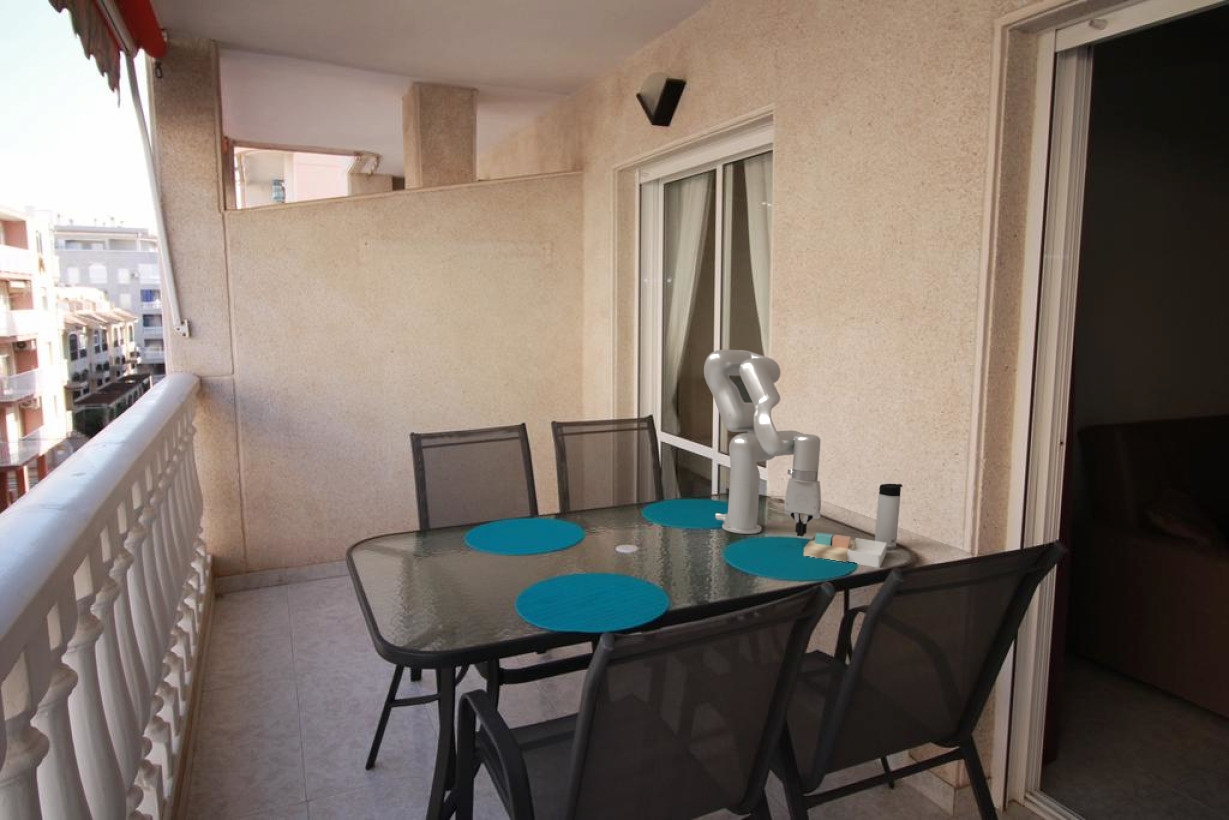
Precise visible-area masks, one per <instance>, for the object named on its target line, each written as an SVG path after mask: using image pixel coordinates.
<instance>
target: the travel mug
mask: <svg viewBox="0 0 1229 820" xmlns="http://www.w3.org/2000/svg"><path fill="white" fill-rule="evenodd" d="M901 488H903V484H901V483H883V484H880V486H879V489H878V490H879V491H878V501H877V509H876V522H875V523H876V524H875V533H874V534H875V535H874V541H879V542H886V543H887V549H886V551H893V549H894V550H896V547H897V540H898V539H897V537H898V529H899V528H898V526H899V517H900V516H899V515H900V506H901V505H900V504H901Z"/></svg>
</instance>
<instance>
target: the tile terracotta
mask: <svg viewBox="0 0 1229 820" xmlns="http://www.w3.org/2000/svg"><path fill="white" fill-rule="evenodd" d="M851 538H852V537H851V536H849V535H843V534H842V535H841V534H834V535H833V539H832V546H835V547H841V548H847V549H848V547H849V546H850V540H852V539H851Z"/></svg>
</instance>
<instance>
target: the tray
mask: <svg viewBox="0 0 1229 820" xmlns="http://www.w3.org/2000/svg"><path fill="white" fill-rule="evenodd" d="M854 540H855V548H854V550H853V551H852V550H848V551H847V561H849V562H855V563H857V564H856V565H861V566H866V567H872V568H879V569H880V568H881V566H882V564H883V561H884V559H885V557H886V555H887V550H886V549H887V543H886V542H879V541H875V540H872V539H865V538H858V537H855V538H854Z"/></svg>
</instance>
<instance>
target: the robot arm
mask: <svg viewBox="0 0 1229 820" xmlns="http://www.w3.org/2000/svg"><path fill="white" fill-rule="evenodd" d="M703 375H704V379H705V380H704V381H705V382H706V384H707V386H708V388H709V390H710V392H711V394H712V397H713V399H714V402H715V404H716V407H717V409H718V413H719V415H720V418H721V422H722V423H723V425H724V427H725V428H726V429H727V431H728V432H729V431H730V432H732V433H735V432H736V433H738V432H739V434H736V435H735V436H734V437H732V438H731V440H730V441H729V446H728V452H729V461H730V463H729V464H730V473H729V474H730V475H729V491H728V505H727V508H728V509H727V512H726V513H724V514H723V513H718V512H716V513H715V516H714V517H715V519H716V521H723V522H722V526H721V527H722V529H723V530H725V531H727V532H731V533H734V534H743V535H751V534H752V535H753V534H754V535H755V534H759V533H760V532H762V526H761V525H759V524H758V512H759V501H760V500H759V499H760V498H759V497H760V486H761V483H760V482H761V474H760V470H759V468H758V467H759V466H758V464H757V462H766V461H769V460H773V459H775V457H781V456H793V459H792V469H788V470H787V472H786V473H787V475H790V478H789V479H788V482H787V486H786V491H785V498H784V505H783V507H784V511H783V513H784V514H785V515H787V516H789V517H790V518H792V519H793V520H794V522H795V533H797V534H796V537H803V536H805V535H806V534H807V528H808V523H809V522H810V521H811V520H819V519H820V518H821V506H822V505H821V504H822V500H821V499H822V497H821V496H822V495H821V493H822V492H821V490H822V489H821V482H820V480H818V478H819V466H820V452H821V438H820V437H819V435H816V434H811V433H810V434H809V433H803V432H801V431H797V430H777V428H776V427H775V425H774V422H773V419H772V410H773V408H775V407H777V405H778V404H780V402H781V395H780V393H779V390H778V389H777V386H776V385H775V383H776V382H778V381H779V380H780V378H781V367H780V366H779V364H778V363H777V362H776V361H775V360H774V359H773V358H770V357H767V356H765V355H762V354H758V353H756V352H753V351H750V350H745V349H718V350H714V351H712V352H711V353H710V354H708V356H707V358H705V361H704V366H703ZM729 376H740V379H741V381H742V382H743V384H744V387H745V389H746V391H747V393H748V396H749V397H750V399H751V402H745V401H744V399H743V397H742V395H741V393H740V391H739V388H738V387H737V385H736V384H735V383H734V381H733V380H731V378H730V377H729ZM741 432H743V433H741ZM801 515H803V519H802V518H801V517H802V516H801Z"/></svg>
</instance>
